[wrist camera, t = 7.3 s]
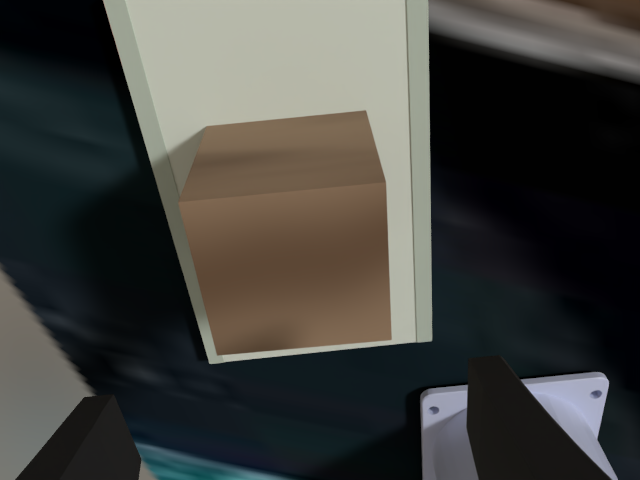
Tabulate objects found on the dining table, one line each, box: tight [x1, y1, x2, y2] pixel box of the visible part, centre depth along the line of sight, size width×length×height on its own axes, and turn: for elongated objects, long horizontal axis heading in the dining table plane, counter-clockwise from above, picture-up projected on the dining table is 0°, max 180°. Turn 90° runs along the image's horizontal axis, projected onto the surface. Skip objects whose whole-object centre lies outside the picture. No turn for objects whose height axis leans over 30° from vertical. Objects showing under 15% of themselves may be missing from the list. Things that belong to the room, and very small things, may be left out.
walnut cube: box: [178, 110, 392, 356], centre depth 17 cm, size 5×5×5 cm
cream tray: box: [103, 0, 432, 364], centre depth 20 cm, size 14×9×1 cm, turn 7°
